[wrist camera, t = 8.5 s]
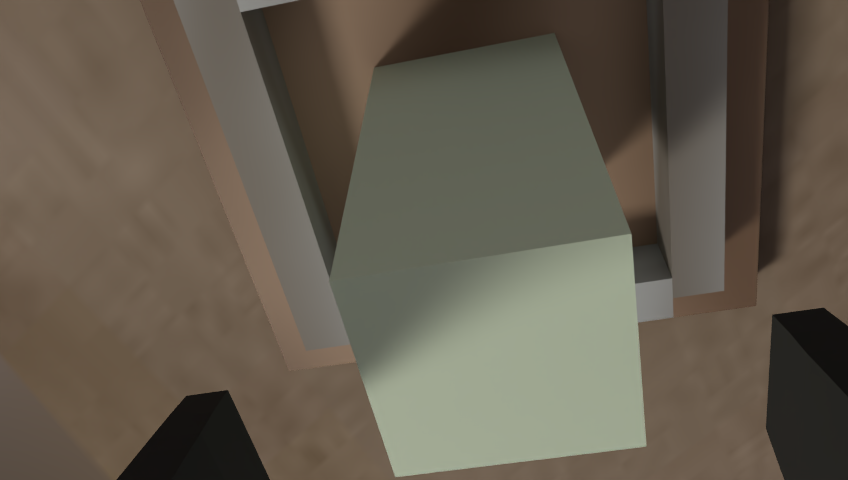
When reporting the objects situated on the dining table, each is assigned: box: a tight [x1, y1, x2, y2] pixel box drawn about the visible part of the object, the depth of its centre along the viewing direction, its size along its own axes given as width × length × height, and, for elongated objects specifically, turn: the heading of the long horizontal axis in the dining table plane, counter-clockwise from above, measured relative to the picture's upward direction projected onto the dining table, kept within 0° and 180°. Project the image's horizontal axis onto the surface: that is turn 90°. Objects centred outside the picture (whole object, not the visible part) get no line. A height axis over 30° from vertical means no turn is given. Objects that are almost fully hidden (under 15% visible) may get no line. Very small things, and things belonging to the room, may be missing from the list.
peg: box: [329, 33, 646, 477], centre depth 14 cm, size 4×4×8 cm
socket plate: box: [140, 0, 769, 371], centre depth 17 cm, size 13×13×2 cm
